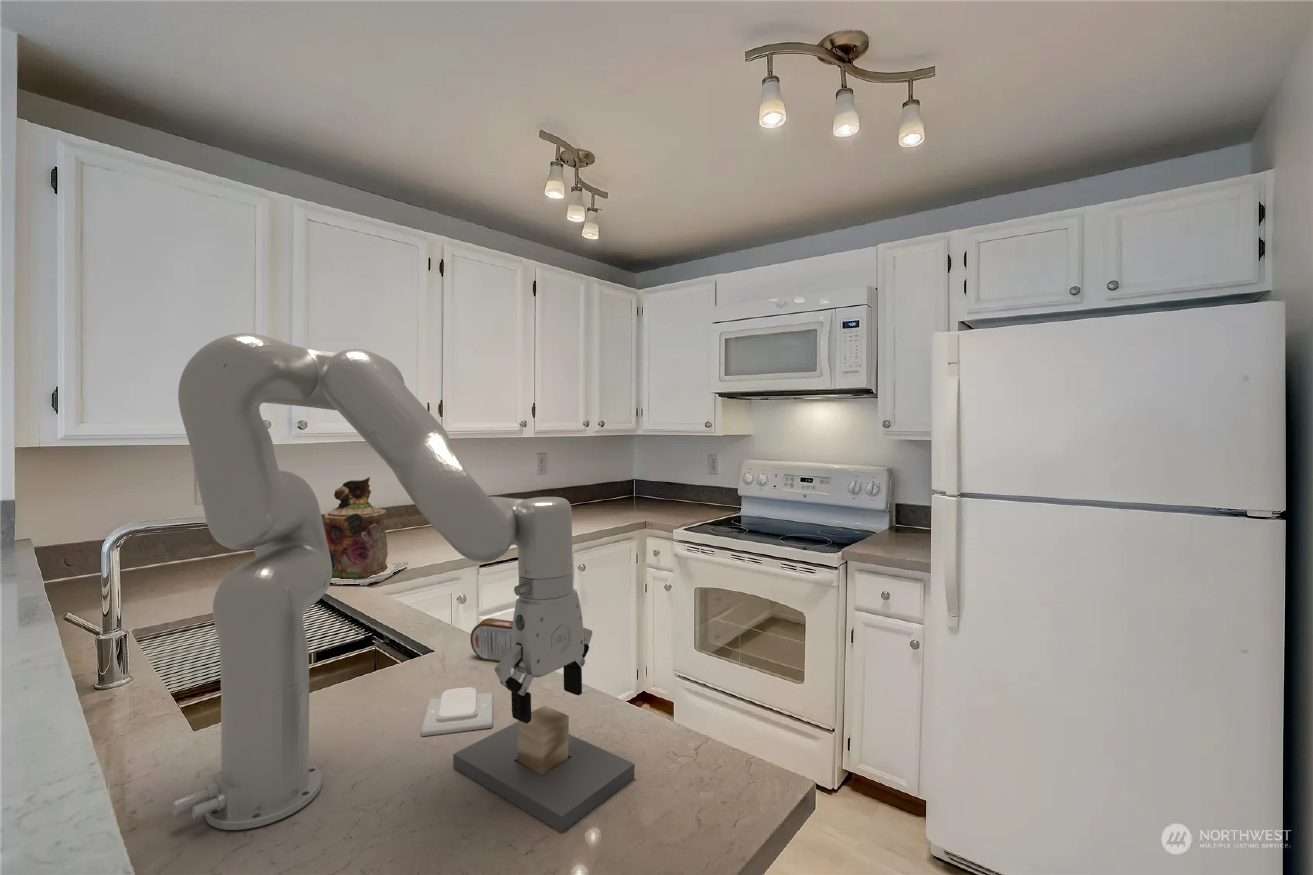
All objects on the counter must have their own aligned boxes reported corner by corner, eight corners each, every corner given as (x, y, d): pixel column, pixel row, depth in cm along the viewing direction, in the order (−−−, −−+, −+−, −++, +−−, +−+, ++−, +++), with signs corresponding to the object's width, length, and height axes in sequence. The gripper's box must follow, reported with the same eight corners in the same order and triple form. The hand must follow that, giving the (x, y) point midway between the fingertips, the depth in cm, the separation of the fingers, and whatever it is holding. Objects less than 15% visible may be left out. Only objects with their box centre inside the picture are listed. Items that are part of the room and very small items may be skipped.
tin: (540, 662, 121) (540, 622, 121) (532, 668, 118) (533, 627, 118) (476, 654, 125) (476, 615, 125) (467, 659, 122) (468, 620, 122)
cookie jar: (340, 566, 201) (341, 473, 201) (411, 568, 200) (411, 474, 200) (293, 585, 176) (293, 480, 176) (373, 587, 175) (373, 481, 175)
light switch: (492, 678, 107) (492, 706, 95) (492, 700, 107) (492, 732, 95) (429, 684, 104) (421, 714, 92) (429, 708, 104) (420, 741, 92)
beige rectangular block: (541, 788, 79) (542, 729, 79) (517, 774, 82) (517, 718, 82) (568, 771, 83) (568, 715, 83) (543, 759, 86) (544, 705, 86)
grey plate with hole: (561, 832, 70) (561, 816, 70) (453, 767, 84) (453, 753, 84) (634, 777, 82) (634, 763, 82) (528, 728, 95) (528, 715, 95)
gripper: (515, 605, 73) (517, 741, 73) (607, 576, 87) (608, 689, 87) (478, 596, 78) (480, 723, 78) (571, 569, 91) (572, 677, 92)
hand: (548, 705), depth 83 cm, fingers open, 9 cm apart
